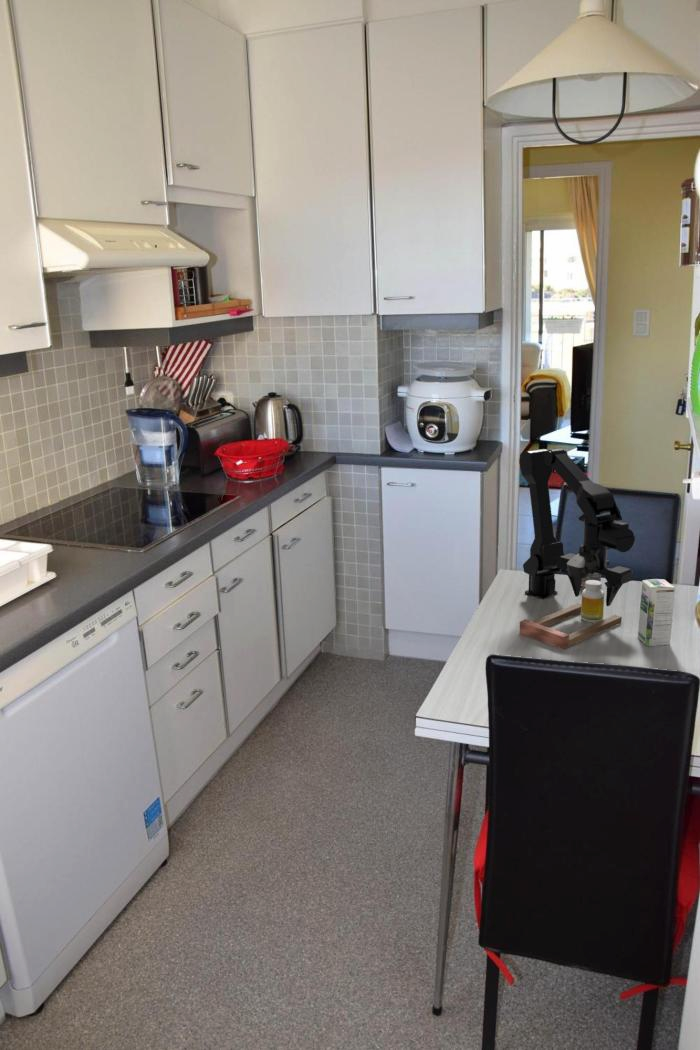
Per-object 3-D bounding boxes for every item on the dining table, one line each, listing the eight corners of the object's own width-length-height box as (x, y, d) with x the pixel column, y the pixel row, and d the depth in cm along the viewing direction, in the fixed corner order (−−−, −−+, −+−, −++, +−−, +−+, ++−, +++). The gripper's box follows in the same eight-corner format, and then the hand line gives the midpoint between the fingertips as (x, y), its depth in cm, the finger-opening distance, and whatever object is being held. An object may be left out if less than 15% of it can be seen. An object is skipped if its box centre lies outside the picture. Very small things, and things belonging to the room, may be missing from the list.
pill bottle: (580, 588, 234) (582, 554, 231) (578, 581, 239) (579, 548, 236) (601, 588, 233) (603, 554, 230) (598, 581, 238) (600, 548, 235)
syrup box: (636, 637, 201) (640, 579, 197) (660, 635, 201) (665, 578, 197) (646, 646, 195) (650, 587, 191) (671, 645, 196) (676, 586, 192)
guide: (519, 632, 205) (519, 621, 205) (577, 608, 219) (578, 597, 218) (563, 649, 196) (563, 637, 195) (621, 622, 209) (621, 611, 209)
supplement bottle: (603, 623, 209) (605, 586, 207) (581, 622, 211) (583, 585, 208) (602, 615, 215) (603, 579, 212) (580, 614, 216) (581, 578, 213)
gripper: (543, 540, 209) (541, 599, 214) (608, 557, 195) (605, 619, 200) (571, 531, 216) (569, 588, 220) (636, 546, 202) (632, 607, 206)
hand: (592, 601), depth 211 cm, fingers open, 9 cm apart
